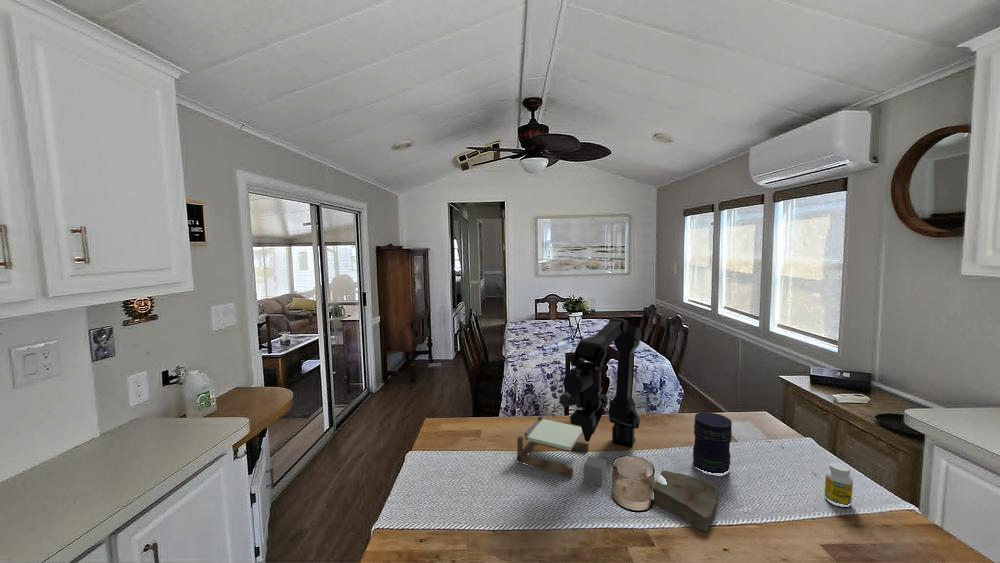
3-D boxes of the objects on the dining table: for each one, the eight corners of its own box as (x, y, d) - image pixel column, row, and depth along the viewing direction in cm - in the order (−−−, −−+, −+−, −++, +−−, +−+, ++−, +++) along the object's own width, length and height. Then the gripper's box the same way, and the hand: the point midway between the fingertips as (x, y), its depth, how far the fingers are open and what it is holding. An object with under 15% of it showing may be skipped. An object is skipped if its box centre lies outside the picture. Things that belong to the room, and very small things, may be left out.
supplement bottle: (844, 497, 105) (847, 463, 104) (855, 510, 100) (858, 474, 99) (820, 494, 107) (822, 459, 106) (829, 506, 102) (832, 470, 101)
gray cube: (605, 476, 115) (606, 460, 115) (601, 486, 111) (602, 468, 110) (588, 472, 117) (589, 456, 117) (583, 481, 113) (584, 464, 113)
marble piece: (707, 535, 92) (708, 518, 92) (643, 509, 101) (644, 493, 101) (722, 499, 105) (722, 484, 105) (664, 479, 114) (664, 465, 114)
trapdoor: (521, 439, 123) (521, 435, 123) (539, 421, 135) (539, 417, 135) (570, 451, 116) (570, 447, 116) (584, 431, 128) (584, 427, 128)
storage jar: (687, 467, 119) (689, 419, 118) (698, 455, 127) (700, 409, 125) (724, 481, 113) (727, 430, 111) (733, 466, 120) (736, 418, 119)
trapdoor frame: (517, 462, 123) (517, 437, 122) (539, 438, 138) (539, 415, 137) (571, 477, 114) (572, 451, 114) (588, 450, 130) (588, 426, 129)
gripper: (572, 371, 126) (572, 419, 127) (552, 390, 109) (551, 445, 111) (608, 376, 120) (607, 426, 122) (592, 398, 104) (591, 455, 105)
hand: (589, 437), depth 115 cm, fingers open, 4 cm apart
